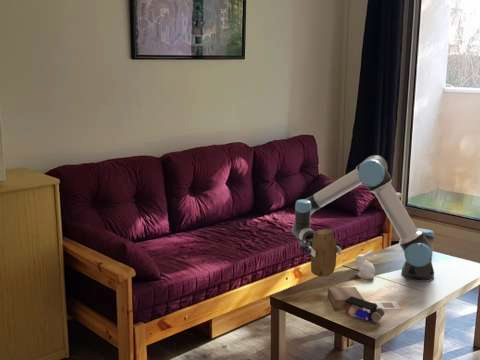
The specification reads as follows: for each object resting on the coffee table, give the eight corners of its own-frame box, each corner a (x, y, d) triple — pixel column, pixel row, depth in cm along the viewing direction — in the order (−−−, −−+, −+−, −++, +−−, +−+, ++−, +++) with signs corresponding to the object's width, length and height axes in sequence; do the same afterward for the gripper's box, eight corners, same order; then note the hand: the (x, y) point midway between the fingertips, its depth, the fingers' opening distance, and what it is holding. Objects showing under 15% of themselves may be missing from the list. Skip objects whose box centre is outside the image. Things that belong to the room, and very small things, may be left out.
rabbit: (352, 272, 284) (354, 249, 281) (369, 271, 287) (371, 247, 284) (365, 282, 273) (367, 257, 270) (382, 280, 276) (384, 255, 273)
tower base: (354, 297, 255) (355, 287, 254) (362, 310, 242) (363, 299, 241) (327, 298, 254) (328, 287, 253) (334, 311, 241) (335, 299, 240)
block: (320, 278, 254) (322, 234, 250) (308, 273, 260) (310, 230, 256) (337, 273, 261) (340, 230, 257) (325, 268, 267) (327, 226, 262)
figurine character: (383, 324, 234) (348, 310, 242) (386, 307, 232) (351, 293, 239) (377, 330, 228) (341, 316, 236) (380, 313, 226) (344, 299, 234)
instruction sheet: (394, 301, 252) (394, 300, 252) (401, 309, 244) (401, 308, 244) (360, 302, 250) (360, 301, 250) (366, 310, 243) (366, 309, 243)
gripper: (332, 243, 279) (352, 258, 258) (285, 247, 273) (301, 263, 252) (333, 228, 277) (353, 242, 257) (285, 231, 272) (302, 246, 251)
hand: (327, 252), depth 255 cm, fingers closed on block, 11 cm apart
